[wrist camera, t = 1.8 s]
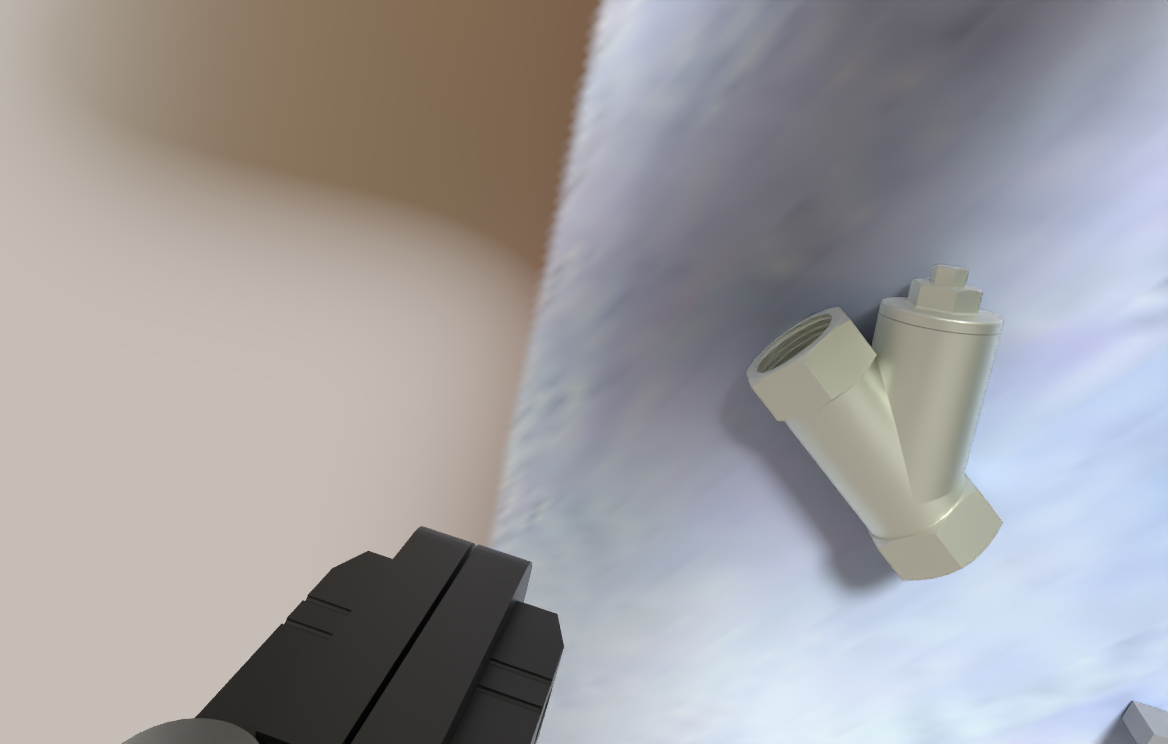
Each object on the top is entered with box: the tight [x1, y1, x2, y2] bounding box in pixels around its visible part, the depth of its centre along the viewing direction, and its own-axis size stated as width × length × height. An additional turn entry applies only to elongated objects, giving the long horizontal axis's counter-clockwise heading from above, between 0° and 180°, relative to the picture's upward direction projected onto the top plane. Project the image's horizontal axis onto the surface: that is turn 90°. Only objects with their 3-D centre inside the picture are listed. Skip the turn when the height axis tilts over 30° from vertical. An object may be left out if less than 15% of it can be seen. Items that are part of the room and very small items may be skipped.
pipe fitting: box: [746, 264, 1004, 580], centre depth 23 cm, size 8×4×7 cm
